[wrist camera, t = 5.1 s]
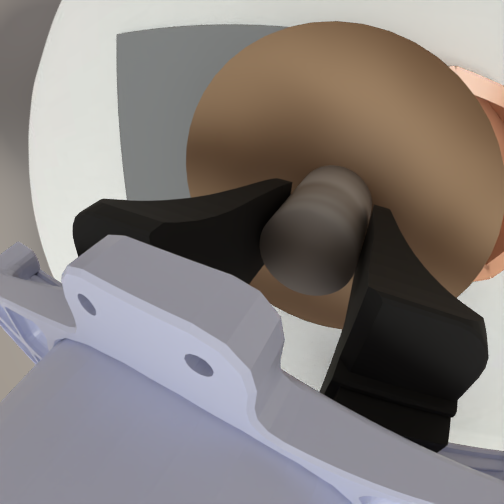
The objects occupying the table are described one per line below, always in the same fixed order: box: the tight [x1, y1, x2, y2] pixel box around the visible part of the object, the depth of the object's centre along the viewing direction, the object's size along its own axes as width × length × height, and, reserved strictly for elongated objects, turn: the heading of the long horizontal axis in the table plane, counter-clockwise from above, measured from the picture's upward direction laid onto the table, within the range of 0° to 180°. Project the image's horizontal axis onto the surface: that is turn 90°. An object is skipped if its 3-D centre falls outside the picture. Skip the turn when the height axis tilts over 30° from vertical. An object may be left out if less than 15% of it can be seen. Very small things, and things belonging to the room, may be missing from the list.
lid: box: [186, 21, 504, 329], centre depth 11 cm, size 14×14×5 cm
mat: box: [117, 25, 288, 201], centre depth 22 cm, size 18×18×1 cm
